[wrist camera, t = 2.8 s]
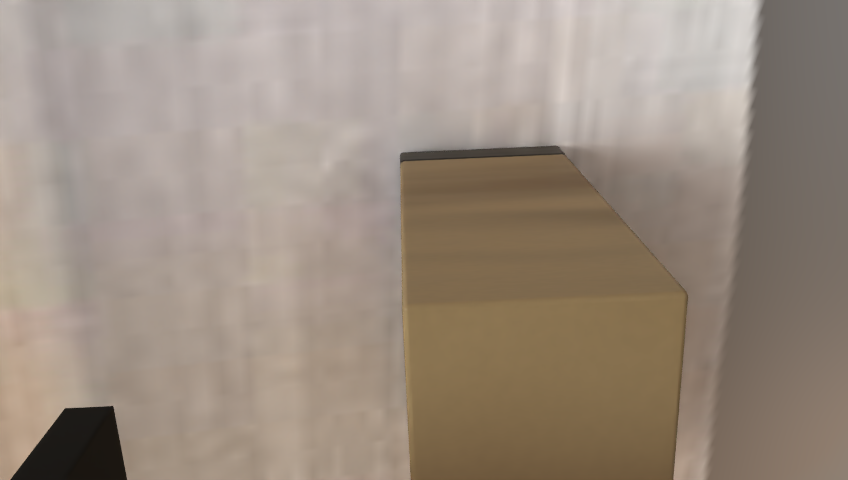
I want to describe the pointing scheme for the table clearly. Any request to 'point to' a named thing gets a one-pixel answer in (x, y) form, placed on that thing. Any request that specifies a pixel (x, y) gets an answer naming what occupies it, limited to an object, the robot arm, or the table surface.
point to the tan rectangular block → (532, 324)
